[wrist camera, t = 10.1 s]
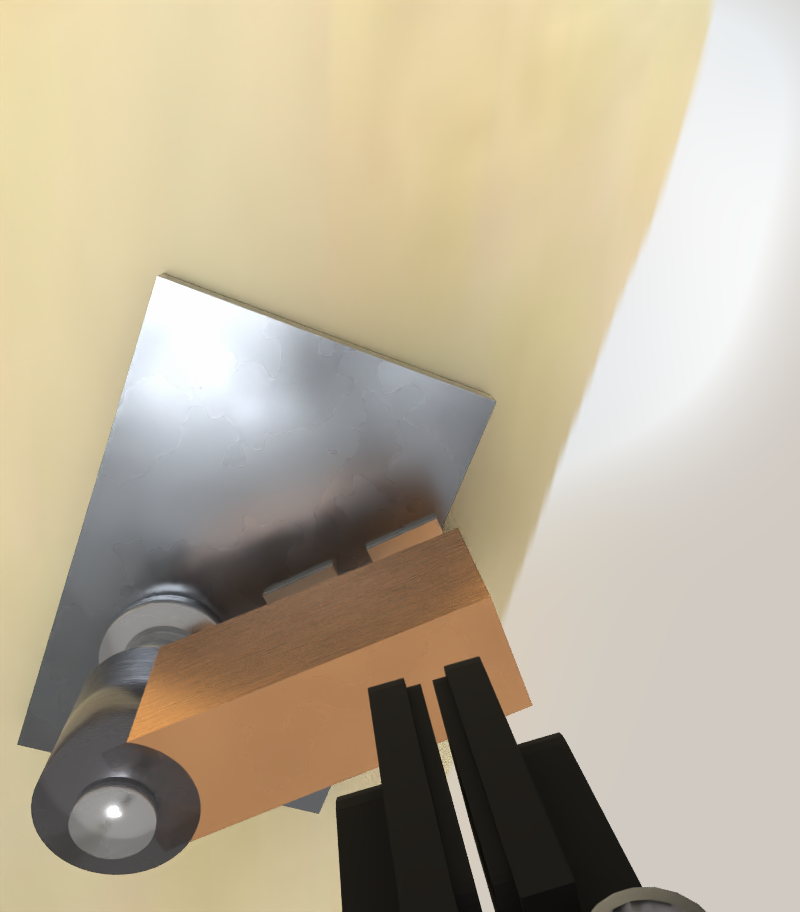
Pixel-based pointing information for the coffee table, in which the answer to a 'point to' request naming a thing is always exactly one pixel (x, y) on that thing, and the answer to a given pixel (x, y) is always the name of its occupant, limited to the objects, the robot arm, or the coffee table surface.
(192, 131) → the coffee table surface
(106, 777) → the orange boxy piece
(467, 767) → the robot arm
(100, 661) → the post base
